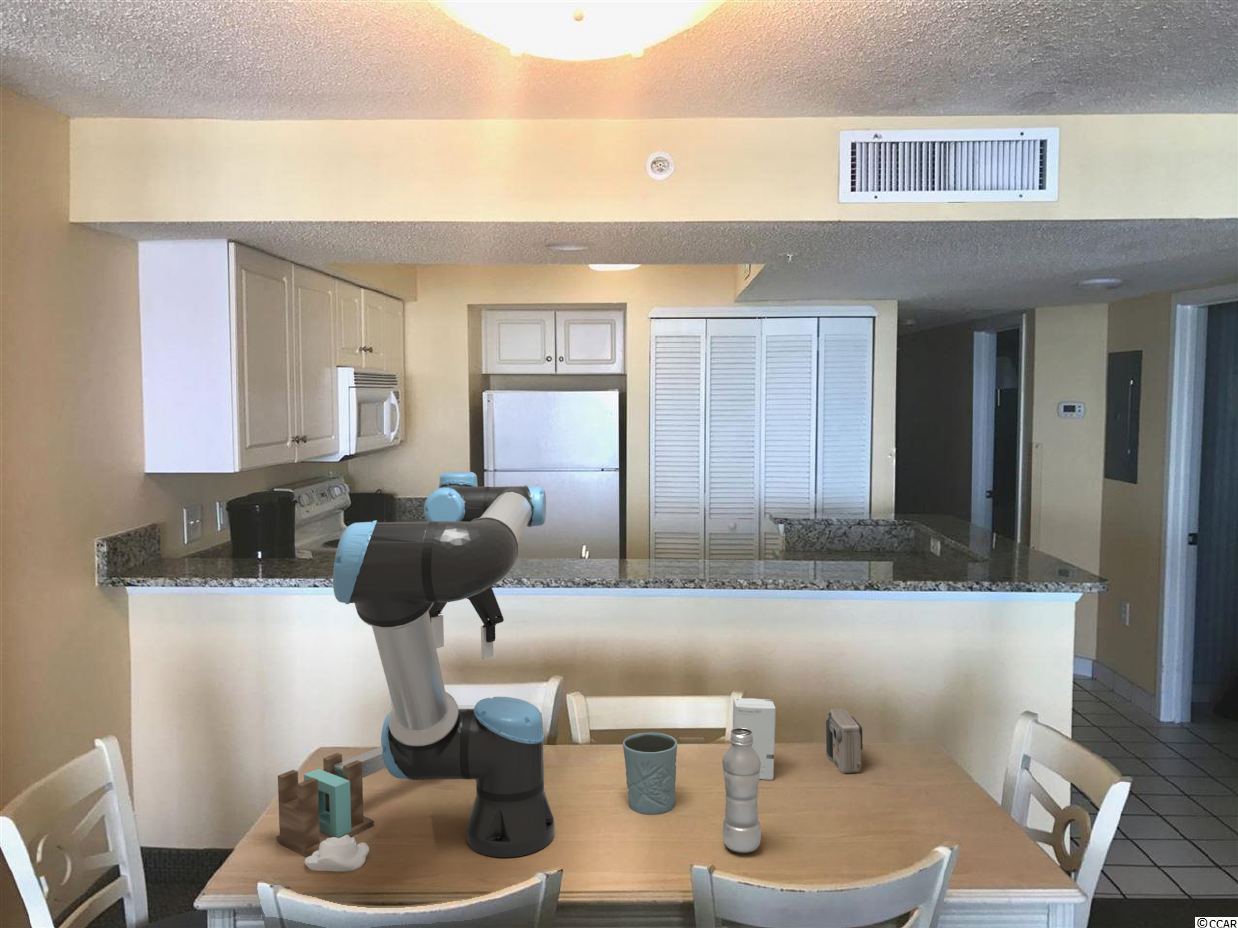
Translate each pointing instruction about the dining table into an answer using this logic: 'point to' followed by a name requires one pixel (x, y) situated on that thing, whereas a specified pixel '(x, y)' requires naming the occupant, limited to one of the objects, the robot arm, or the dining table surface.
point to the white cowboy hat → (338, 855)
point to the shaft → (364, 763)
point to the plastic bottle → (741, 793)
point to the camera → (843, 740)
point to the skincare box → (758, 729)
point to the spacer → (333, 803)
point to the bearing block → (315, 807)
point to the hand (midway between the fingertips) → (462, 652)
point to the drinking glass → (650, 772)
